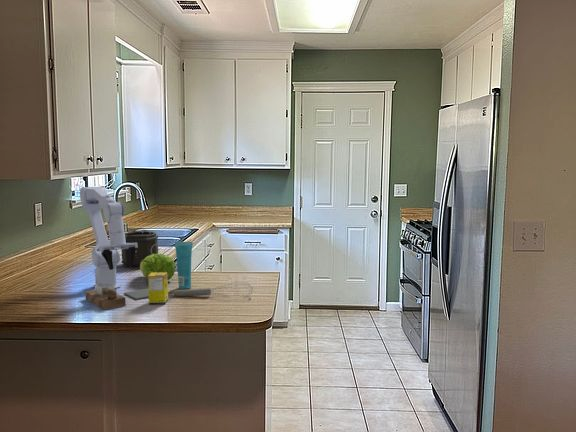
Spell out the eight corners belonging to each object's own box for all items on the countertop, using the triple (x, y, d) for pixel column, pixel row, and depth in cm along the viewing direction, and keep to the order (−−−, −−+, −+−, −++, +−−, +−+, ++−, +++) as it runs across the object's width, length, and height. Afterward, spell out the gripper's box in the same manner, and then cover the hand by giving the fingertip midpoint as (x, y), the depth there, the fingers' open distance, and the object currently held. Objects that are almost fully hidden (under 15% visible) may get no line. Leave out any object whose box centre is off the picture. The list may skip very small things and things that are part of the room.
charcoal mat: (124, 294, 204) (124, 292, 204) (148, 289, 211) (148, 288, 211) (136, 300, 196) (136, 298, 196) (160, 295, 203) (160, 293, 202)
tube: (194, 286, 217) (193, 240, 214) (192, 289, 212) (191, 242, 209) (176, 286, 217) (175, 240, 214) (174, 289, 212) (173, 242, 210)
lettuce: (163, 260, 242) (138, 247, 235) (185, 262, 225) (158, 248, 217) (151, 285, 238) (125, 273, 231) (172, 290, 221) (144, 276, 213)
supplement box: (168, 300, 196) (167, 271, 195) (165, 304, 190) (164, 275, 189) (152, 300, 196) (151, 271, 194) (148, 305, 190) (147, 275, 189)
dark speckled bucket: (156, 260, 271) (155, 230, 269) (161, 266, 254) (160, 235, 252) (120, 262, 265) (119, 231, 263) (122, 269, 248) (121, 237, 246)
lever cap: (95, 293, 194) (94, 284, 194) (107, 291, 197) (106, 282, 196) (102, 297, 189) (102, 287, 188) (114, 295, 192) (114, 285, 191)
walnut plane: (85, 299, 197) (85, 283, 197) (106, 295, 203) (106, 280, 202) (103, 309, 184) (103, 293, 183) (125, 305, 189) (125, 289, 188)
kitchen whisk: (170, 294, 205) (170, 279, 204) (253, 296, 203) (253, 280, 202) (166, 299, 199) (165, 283, 198) (252, 300, 197) (251, 284, 197)
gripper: (101, 233, 193) (106, 269, 192) (138, 230, 203) (143, 265, 201) (95, 236, 199) (99, 271, 198) (131, 232, 208) (136, 266, 207)
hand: (121, 268), depth 200 cm, fingers open, 7 cm apart
